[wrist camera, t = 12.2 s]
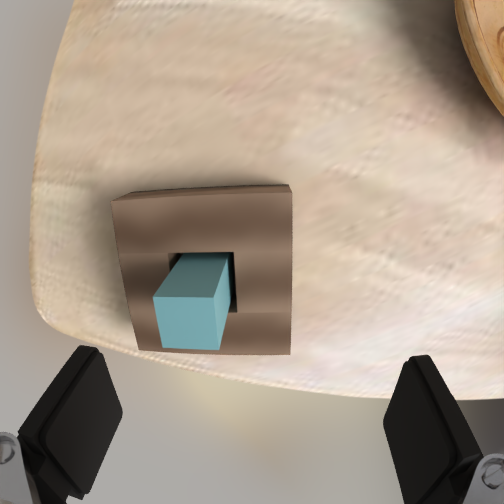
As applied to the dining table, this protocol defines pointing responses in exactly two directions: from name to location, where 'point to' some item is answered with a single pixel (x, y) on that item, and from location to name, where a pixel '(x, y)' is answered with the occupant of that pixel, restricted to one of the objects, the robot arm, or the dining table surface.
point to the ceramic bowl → (484, 43)
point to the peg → (195, 301)
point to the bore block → (212, 240)
